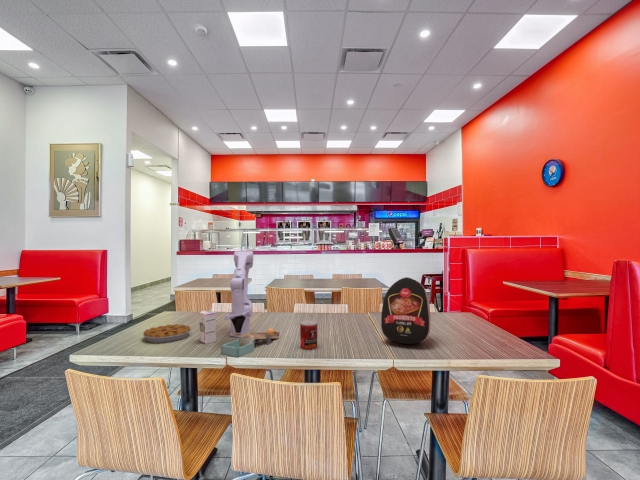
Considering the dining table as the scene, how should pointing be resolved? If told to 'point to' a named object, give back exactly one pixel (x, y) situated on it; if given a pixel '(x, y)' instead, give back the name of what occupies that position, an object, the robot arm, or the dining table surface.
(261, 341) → the fulcrum
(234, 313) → the robot arm
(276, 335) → the lever
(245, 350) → the teal u-shaped frame
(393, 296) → the packaged food
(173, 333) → the pie
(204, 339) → the syrup box
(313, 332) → the canned food
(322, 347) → the dining table surface
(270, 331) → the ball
